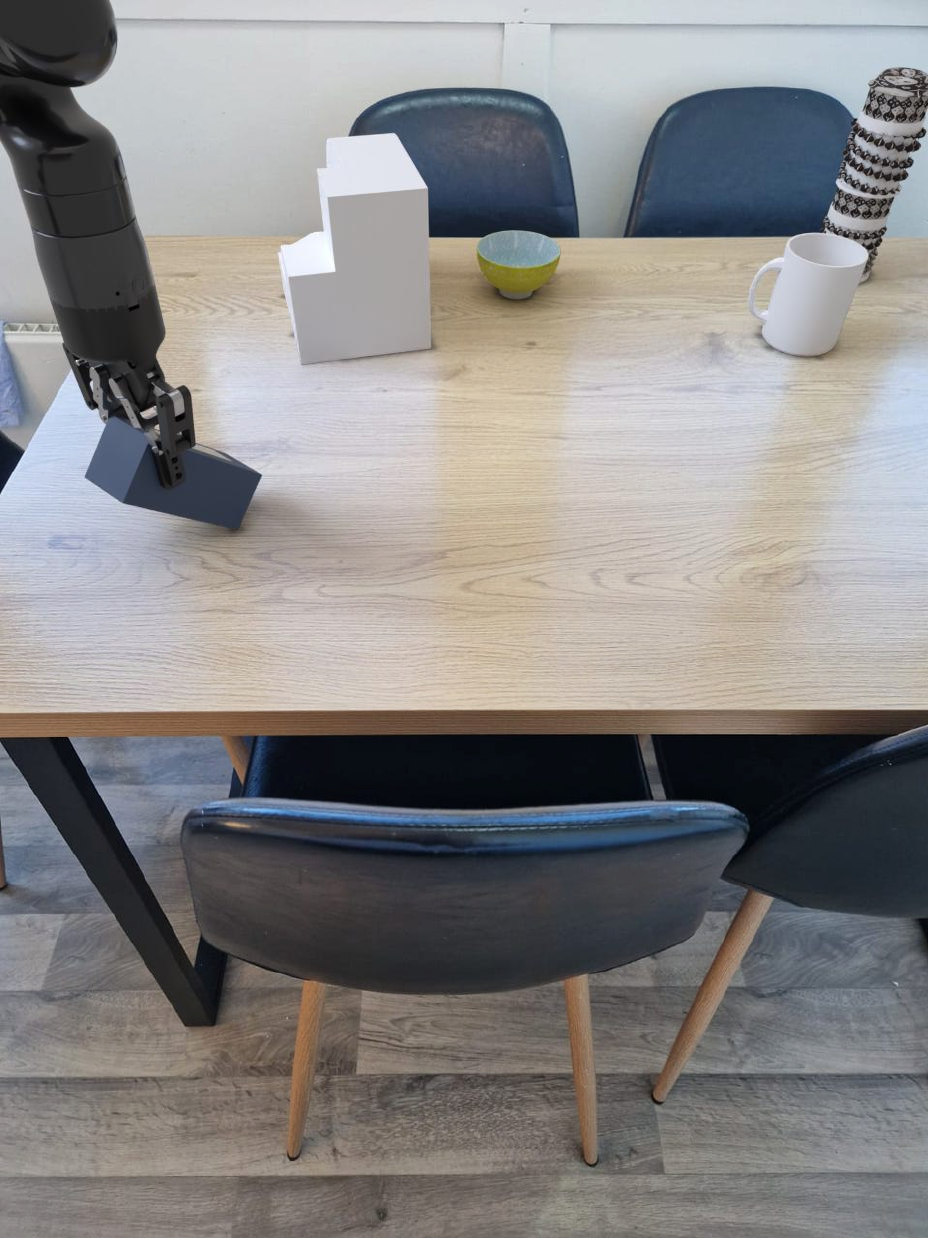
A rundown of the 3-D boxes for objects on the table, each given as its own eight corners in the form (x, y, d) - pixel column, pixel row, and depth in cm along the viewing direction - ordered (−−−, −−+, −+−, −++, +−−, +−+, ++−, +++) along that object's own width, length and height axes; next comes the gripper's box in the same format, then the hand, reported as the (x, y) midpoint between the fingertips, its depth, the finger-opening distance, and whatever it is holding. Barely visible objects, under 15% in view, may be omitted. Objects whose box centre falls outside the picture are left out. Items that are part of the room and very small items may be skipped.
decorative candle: (857, 292, 117) (933, 88, 99) (795, 272, 121) (857, 73, 103) (881, 269, 122) (957, 71, 104) (820, 251, 126) (884, 57, 107)
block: (279, 273, 119) (256, 124, 105) (392, 262, 122) (384, 114, 108) (301, 364, 103) (277, 201, 88) (431, 348, 106) (427, 187, 91)
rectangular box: (122, 503, 69) (150, 436, 68) (83, 477, 72) (110, 411, 71) (237, 530, 82) (263, 473, 81) (201, 507, 84) (225, 452, 83)
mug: (845, 358, 105) (881, 266, 96) (752, 359, 105) (779, 268, 96) (820, 320, 111) (851, 232, 103) (732, 322, 111) (755, 233, 102)
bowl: (572, 287, 117) (577, 243, 113) (528, 320, 111) (531, 274, 106) (505, 265, 121) (507, 222, 117) (459, 295, 115) (459, 250, 111)
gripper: (0, 268, 63) (67, 457, 75) (115, 331, 56) (168, 525, 69) (88, 240, 67) (138, 423, 79) (204, 295, 61) (239, 484, 73)
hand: (152, 470), depth 74 cm, fingers closed on rectangular box, 5 cm apart
